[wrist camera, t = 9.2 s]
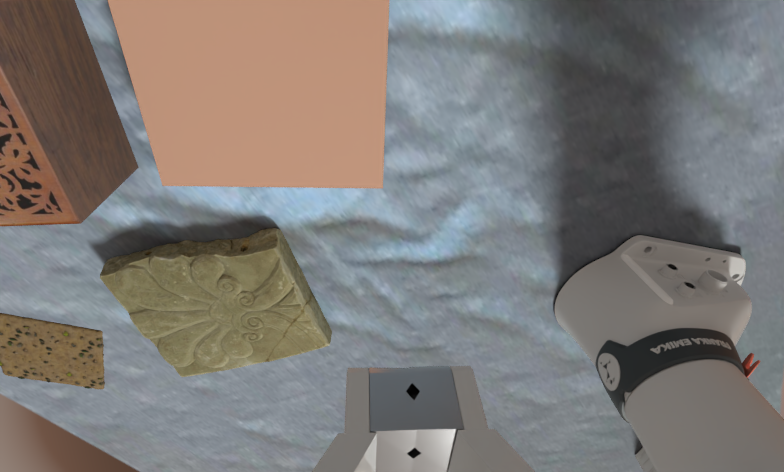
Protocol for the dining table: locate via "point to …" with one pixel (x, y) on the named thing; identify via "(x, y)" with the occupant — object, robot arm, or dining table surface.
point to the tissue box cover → (55, 118)
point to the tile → (260, 89)
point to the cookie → (51, 352)
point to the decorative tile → (220, 302)
